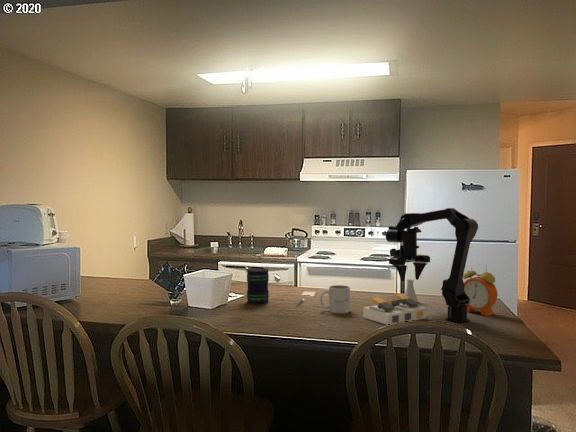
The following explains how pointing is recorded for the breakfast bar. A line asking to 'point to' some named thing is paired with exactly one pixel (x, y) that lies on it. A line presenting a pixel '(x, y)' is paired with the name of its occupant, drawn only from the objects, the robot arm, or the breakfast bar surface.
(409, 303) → the rocker
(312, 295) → the spatula
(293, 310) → the breakfast bar surface
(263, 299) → the storage jar
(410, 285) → the flask
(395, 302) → the block
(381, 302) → the block
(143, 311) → the breakfast bar surface
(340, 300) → the mug
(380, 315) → the switch box
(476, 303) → the alarm clock
